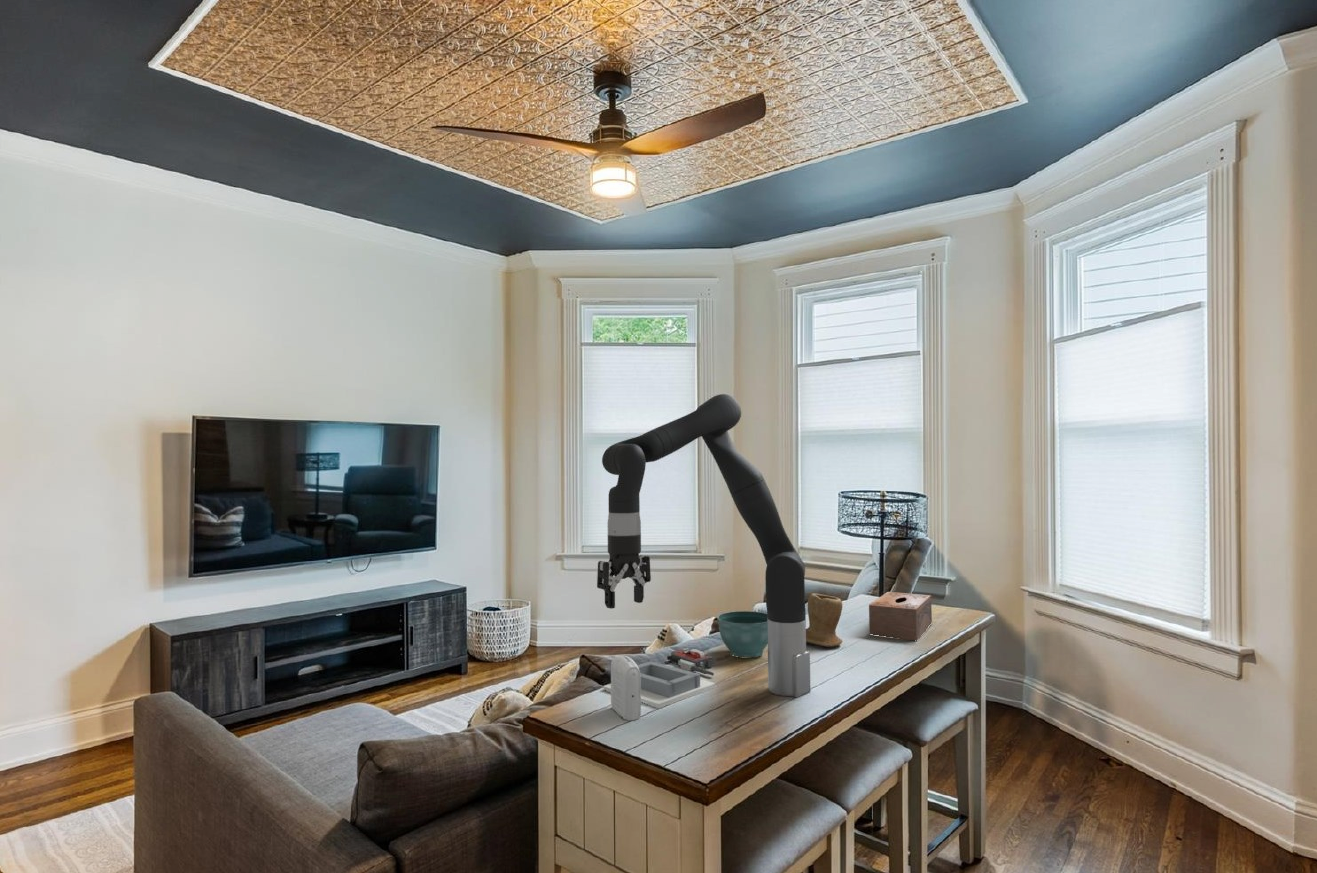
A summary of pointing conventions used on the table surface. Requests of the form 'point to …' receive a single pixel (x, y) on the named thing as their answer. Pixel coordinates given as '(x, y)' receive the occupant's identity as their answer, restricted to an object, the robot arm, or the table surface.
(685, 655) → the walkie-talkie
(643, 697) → the dock
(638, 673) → the photo printer
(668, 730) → the table surface
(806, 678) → the robot arm
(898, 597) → the tissue box cover
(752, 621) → the flower pot
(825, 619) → the tan flared cylinder
